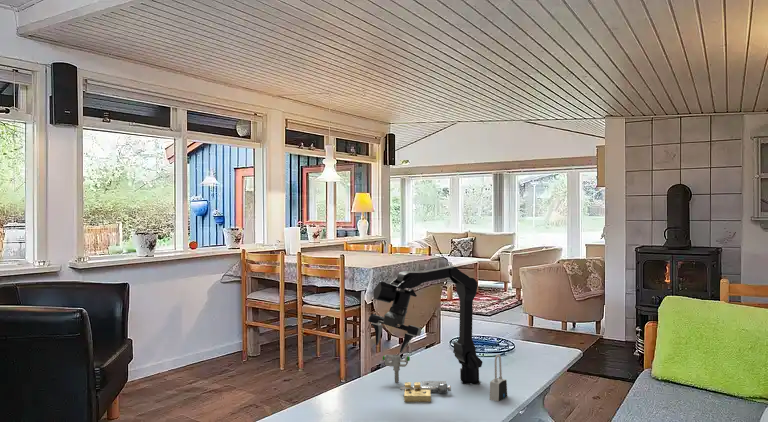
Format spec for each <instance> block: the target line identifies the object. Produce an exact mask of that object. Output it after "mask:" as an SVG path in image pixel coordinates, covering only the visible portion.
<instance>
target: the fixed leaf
mask: <svg viewBox="0 0 768 422" xmlns="http://www.w3.org/2000/svg"><path fill="white" fill-rule="evenodd" d="M405 389H411V390H414V389H421V390H430V393H439V394H440V393H441V394H443V393H445V394H447V393H448V392H451V391H452V386H451V385H448V384H447V380H421V387H414V386H411V387H405V386H400V390H401V391H405Z"/></svg>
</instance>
